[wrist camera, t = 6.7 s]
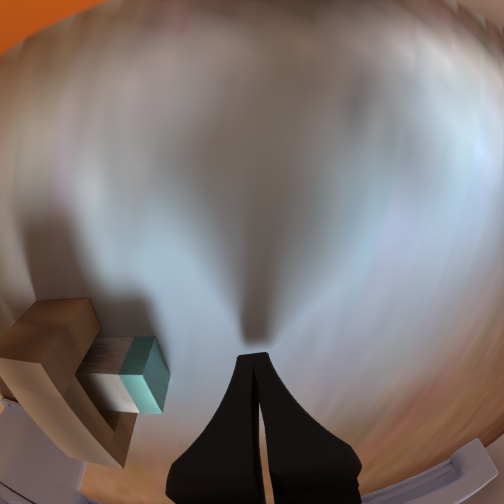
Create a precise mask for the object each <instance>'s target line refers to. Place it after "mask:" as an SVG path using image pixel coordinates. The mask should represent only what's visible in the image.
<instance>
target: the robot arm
mask: <svg viewBox="0 0 504 504" xmlns="http://www.w3.org/2000/svg"><path fill="white" fill-rule="evenodd" d="M1 403H2V404H3V405H4V406H5V408H4V410H3V411H2V413H1V415H0V504H108V503H104V502H100V501H97V500H93V499H90V498H88V497H87V496H86V495H84V494H83V493H81V492H79V491H80V487H81V484H82V480H83V477H84V473H85V470H86V467H87V463H88V462H87V461H83V460H79V459H75V458H71V457H68V456H67V455H66V454H65V453H64V452H63V451H62V450H61V449H60V448H59V447H58V446H57V445H56V444H55V443H54V442H53V441H52V440H51V439H50V438H49V437H48V436H47V435H46V434H45V433H44V432H43V430H42V429H41V428H40V427H39V426H38V425H37V424H36V423H35V421H34V420H33V419H32V418H31V417H30V415H29V414H28V413H27V412H26V411H25V409H24V408H23V407H22V405H21V404H20V403H18V402H15V401H11V400H8V399H5V398H2V399H1ZM259 403H260V408H261V412H262V417H263V421H264V426H265V434H266V444H267V454H268V465H269V473H270V478H271V483H272V488H273V495H274V503H275V504H459V503H460V502H462V501H464V500H465V499H467V498H468V497H470V496H471V495H473V494H474V493H475V492H477V491H478V490H479V489H481V488H482V487H483V486H485V485H486V484H487V483H488V482H489V481H491V480H492V479H493V478H494V477H495V476H497V475H498V471H497V469H496V467H495V465H494V464H493V462H492V460H491V458H490V457H489V455H488V453H487V452H486V450H485V448H484V446H483V445H482V443H481V442H480V440H479V438H476V439H475V440H473V441H471V442H470V443H468V444H467V445H465V446H463V447H462V448H460V449H459V450H457V451H456V452H455V453H454V454H453V455H452V456H451V458H450V459H448V460H447V461H445V462H443V463H441V464H439V465H437V466H435V467H433V468H431V469H429V470H427V471H425V472H423V473H421V474H418V475H416V476H414V477H412V478H409V479H407V480H405V481H402V482H400V483H397V484H395V485H392V486H390V487H387V488H384V489H381V490H378V491H376V492H373V493H370V494H366V495H363V496H360V493H359V490H358V487H359V483H358V480H357V477H358V475H359V473H360V471H361V470H362V465H361V462H360V460H359V458H358V456H357V455H356V453H355V452H354V450H353V449H352V447H351V446H350V445H349V444H347V443H345V442H344V441H342V440H341V439H339V438H338V437H336V436H335V435H333V434H332V433H330V432H329V431H328V430H326V429H325V428H324V427H323V426H321V425H320V424H319V423H318V422H317V421H316V420H314V419H313V418H312V417H311V416H310V415H309V414H308V413H307V412H306V411H305V410H304V409H303V408H302V407H301V406H300V405H299V403H298V402H297V401H296V400H295V399H294V397H293V396H292V395H291V394H290V392H289V391H288V390H287V388H286V387H285V385H284V384H283V382H282V381H281V379H280V378H279V376H278V374H277V373H276V371H275V369H274V367H273V365H272V363H271V360H270V358H269V354H268V353H267V352H261V353H253V354H245V355H239V356H238V357H237V361H236V365H235V369H234V372H233V376H232V378H231V381H230V384H229V386H228V389H227V391H226V393H225V395H224V397H223V400H222V402H221V404H220V406H219V407H218V409H217V411H216V413H215V414H214V416H213V418H212V419H211V421H210V422H209V424H208V425H207V426H206V428H205V429H204V431H203V432H202V433H201V435H200V436H199V437H198V438H197V439H196V440H195V442H194V443H193V444H192V445H191V446H190V447H189V448H188V449H187V450H186V451H185V452H184V453H183V454H182V455H181V456H180V457H179V458H178V459H177V460H176V461H175V462H173V463H172V465H171V468H170V470H169V474H168V477H167V482H166V492H165V494H166V495H167V497H168V498H170V499H171V500H172V501H173V502H174V503H176V504H266V499H265V491H264V483H263V475H262V466H261V457H260V448H259Z"/></svg>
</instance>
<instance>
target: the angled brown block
mask: <svg viewBox="0 0 504 504" xmlns="http://www.w3.org/2000/svg"><path fill="white" fill-rule="evenodd" d="M100 329H101V326H100V324H99V321H98V319H97V316H96V314H95V311H94V309H93V306H92V304H91V301H90V298H80V299H66V300H51V301H36V302H35V303H34V304H33V305H32V306H31V307H30V308H29V309H28V310H27V311H26V312H25V313H24V314H23V315H22V316H21V317H20V318H19V320H18V321H17V322H16V323H15V324H14V325H13V326H12V327H11V328H10V329H9V330H8V331H7V333H6V334H5V335H4V336H3V337H2V338H1V339H0V376H1V378H2V379H3V381H4V382H5V384H6V385H7V387H8V388H9V389H10V391H11V392H12V394H13V395H14V396H15V398H16V399H17V400H18V402H19V403H20V404H21V405H22V407H23V408H24V409H25V411H26V412H27V413H28V414H29V415H30V417H31V418H32V419H33V420H34V421H35V423H36V424H37V425H38V426H39V427H40V428H41V429H42V430H43V432H44V433H45V434H46V435H47V436H48V437H49V438H50V439H51V440H52V441H53V442H54V443H55V444H56V445H57V446H58V447H59V448H60V449H61V450H62V451H63V452H64V453H65V454H66V455H67V456H68V457H71V458H75V459H79V460H83V461H87V462H91V463H96V464H100V465H105V466H111V467H116V468H122V469H124V465H125V461H126V457H127V453H128V449H129V444H130V440H131V437H132V433H133V429H134V425H135V421H136V417H137V414H138V413H133V412H120V411H109V410H100V409H96V407H95V406H94V404H93V403H92V402H91V400H90V399H89V397H88V396H87V394H86V393H85V391H84V389H83V388H82V386H81V385H80V383H79V382H78V380H77V378H76V377H75V375H74V374H75V373H76V371H77V369H78V367H79V365H80V364H81V362H82V360H83V358H84V356H85V355H86V353H87V351H88V350H89V348H90V346H91V344H92V343H93V341H94V339H95V338H96V336H97V334H98V333H99V331H100Z"/></svg>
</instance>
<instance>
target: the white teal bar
mask: <svg viewBox="0 0 504 504" xmlns="http://www.w3.org/2000/svg"><path fill="white" fill-rule="evenodd" d="M74 375H75V377H76V378H77V380H78V382H79V383H80V385H81V386H82V388H83V389H84V391H85V393H86V394H87V396H88V397H89V399H90V400H91V402H92V403H93V404H94V406H95V407H96V409H100V410H109V411H120V412H133V413H153V414H162V413H163V408H164V403H165V398H166V394H167V389H168V384H169V380H170V373H169V370H168V368H167V365H166V363H165V360H164V358H163V355H162V353H161V350H160V347H159V345H158V342H157V339H156V336H153V337H129V338H95V339H94V341H93V343H92V344H91V346H90V348H89V350H88V351H87V353H86V355H85V356H84V358H83V360H82V362H81V364H80V365H79V367H78V369H77V371H76V373H75V374H74Z"/></svg>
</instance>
